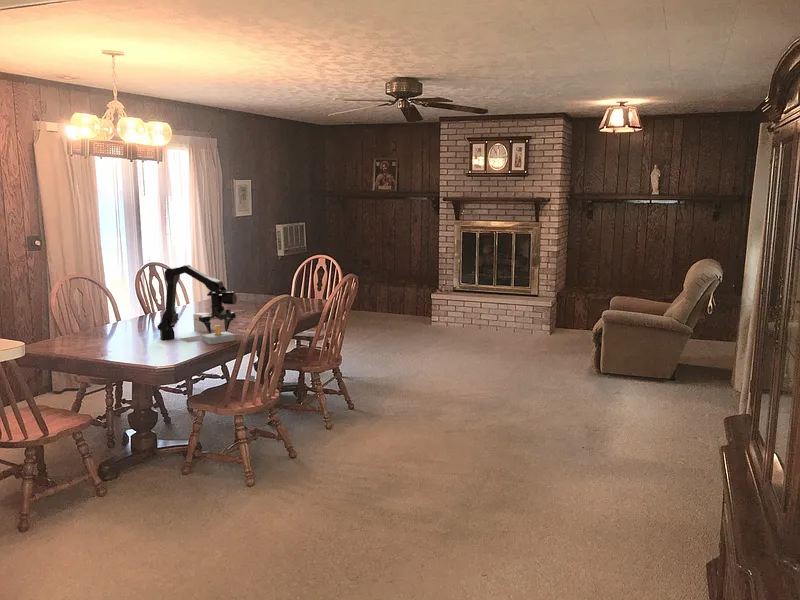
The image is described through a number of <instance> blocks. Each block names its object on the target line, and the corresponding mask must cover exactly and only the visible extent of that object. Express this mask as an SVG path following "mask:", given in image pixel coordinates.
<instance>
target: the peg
mask: <svg viewBox="0 0 800 600" xmlns="http://www.w3.org/2000/svg"><path fill="white" fill-rule="evenodd" d="M214 329H215V331H214V333H215V336H219V335H221V332H222V326H221V324H215V325H214Z"/></svg>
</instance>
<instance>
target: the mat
mask: <svg viewBox="0 0 800 600" xmlns="http://www.w3.org/2000/svg"><path fill="white" fill-rule="evenodd" d="M202 335H203V334H202ZM202 335H201V334H199V335H194V336H188V337H187V336H186V337H182V338H181V337H180V338H179V340H180V341H181V340H182V341H184V342H186V343H193V342H200V341H202Z"/></svg>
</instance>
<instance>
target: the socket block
mask: <svg viewBox="0 0 800 600" xmlns="http://www.w3.org/2000/svg"><path fill="white" fill-rule="evenodd" d="M201 341H202V342H204V343H206V344H209V345H216V344H217V345H218V344H222V343H223V344H224V343H229V342H235V341H236V335H235V333H232V332H229V331H227V332H226V331H225V330H224V331H221V335H219V336H215V332H211V334H209V333H206V334H202V340H201Z"/></svg>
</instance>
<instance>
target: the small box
mask: <svg viewBox="0 0 800 600" xmlns="http://www.w3.org/2000/svg"><path fill="white" fill-rule="evenodd" d="M201 315H208V316H211V312H196V313H193V315H192V316H193V317H192V318H193V331H194V332H202V333H203V332H206V333H207V332H208V330H207V328H206V326H205V324H204V323H202V322H201V321H199V316H201ZM211 320H212V319H211ZM211 320H210V321H209V322H211V324H210V327H211V328H212V321H211Z"/></svg>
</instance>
